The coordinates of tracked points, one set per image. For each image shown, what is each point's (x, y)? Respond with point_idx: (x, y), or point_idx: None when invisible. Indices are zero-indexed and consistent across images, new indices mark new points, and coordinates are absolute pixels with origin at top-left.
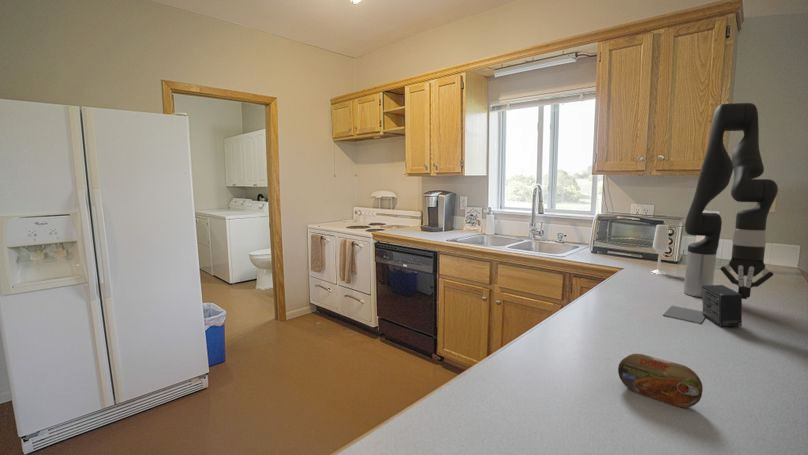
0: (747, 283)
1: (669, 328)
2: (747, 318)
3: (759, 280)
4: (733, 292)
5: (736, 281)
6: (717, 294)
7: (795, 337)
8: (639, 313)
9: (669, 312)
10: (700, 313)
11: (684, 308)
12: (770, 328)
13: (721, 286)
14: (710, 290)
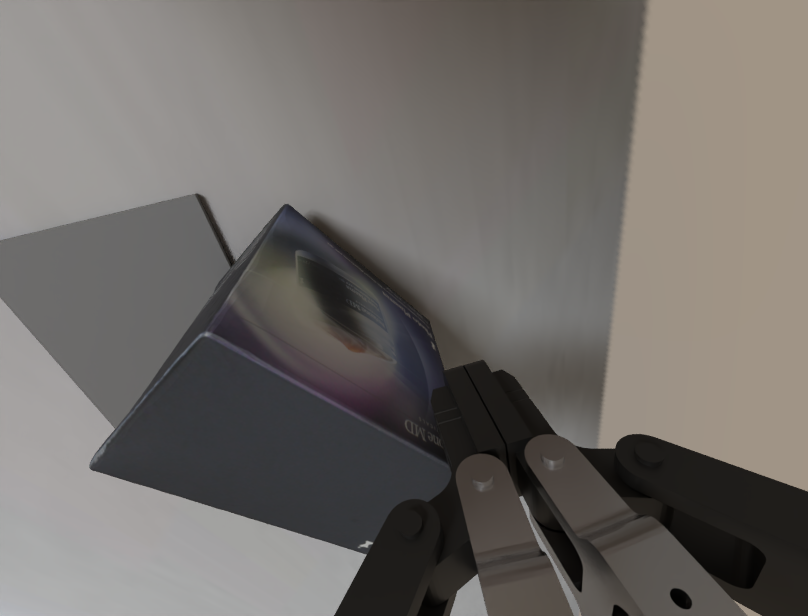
0: (561, 548)
1: (274, 530)
2: (387, 60)
3: (720, 583)
4: (420, 485)
5: (454, 573)
6: (344, 543)
7: (604, 229)
8: (74, 507)
9: (113, 400)
10: (191, 263)
11: (60, 244)
12: (516, 179)
13: (251, 406)
14: (254, 516)
